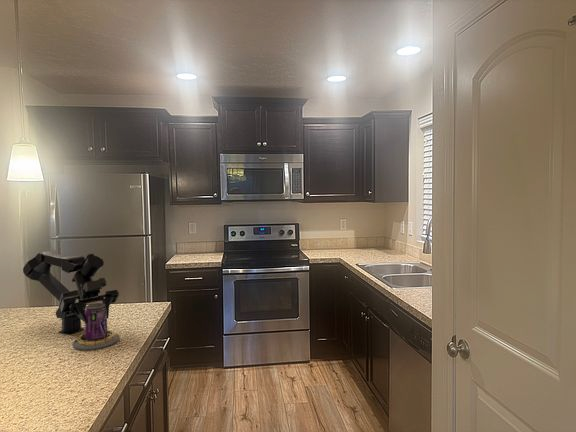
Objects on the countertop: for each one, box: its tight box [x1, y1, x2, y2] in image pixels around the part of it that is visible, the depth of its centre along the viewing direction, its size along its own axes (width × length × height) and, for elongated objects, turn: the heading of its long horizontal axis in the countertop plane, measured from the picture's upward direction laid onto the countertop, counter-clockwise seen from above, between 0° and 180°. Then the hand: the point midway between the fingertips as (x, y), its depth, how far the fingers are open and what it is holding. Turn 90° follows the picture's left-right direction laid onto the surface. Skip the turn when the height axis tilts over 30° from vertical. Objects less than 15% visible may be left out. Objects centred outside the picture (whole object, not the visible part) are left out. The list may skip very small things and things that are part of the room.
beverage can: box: [84, 303, 108, 341], centre depth 138 cm, size 7×7×12 cm
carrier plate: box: [72, 329, 120, 352], centre depth 138 cm, size 15×15×2 cm
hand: (97, 320), depth 137 cm, fingers closed on beverage can, 7 cm apart
